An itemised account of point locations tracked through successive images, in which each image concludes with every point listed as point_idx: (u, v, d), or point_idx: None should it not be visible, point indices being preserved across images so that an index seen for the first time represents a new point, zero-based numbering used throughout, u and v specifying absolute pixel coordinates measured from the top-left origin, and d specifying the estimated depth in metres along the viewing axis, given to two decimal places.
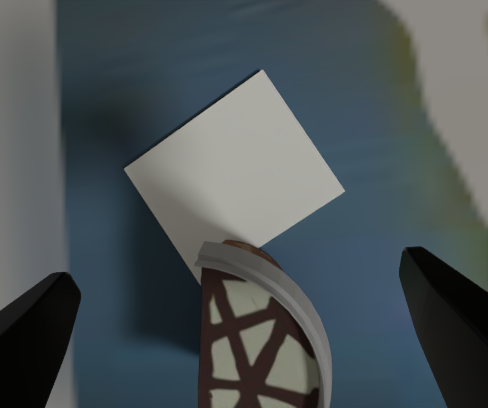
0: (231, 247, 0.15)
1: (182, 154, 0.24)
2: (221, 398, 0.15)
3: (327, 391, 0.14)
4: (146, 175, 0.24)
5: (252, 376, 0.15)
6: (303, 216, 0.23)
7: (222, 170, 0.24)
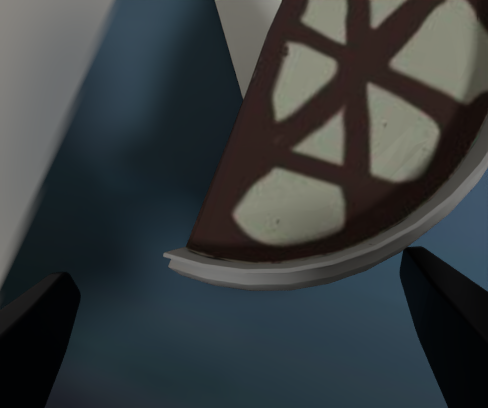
0: None
1: None
2: (302, 64, 0.08)
3: None
4: None
5: (368, 46, 0.08)
6: None
7: None
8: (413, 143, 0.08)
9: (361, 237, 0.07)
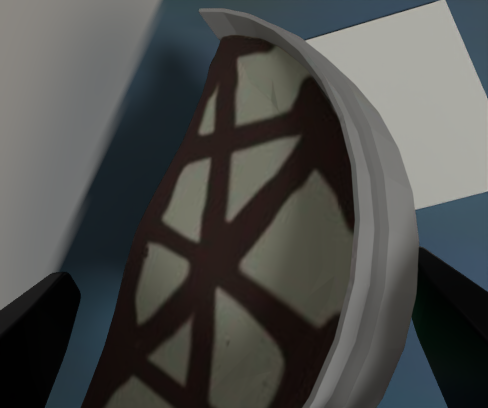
0: None
1: None
2: (158, 265, 0.08)
3: (365, 327, 0.05)
4: None
5: (221, 243, 0.07)
6: (450, 197, 0.16)
7: None
8: (255, 372, 0.06)
9: None
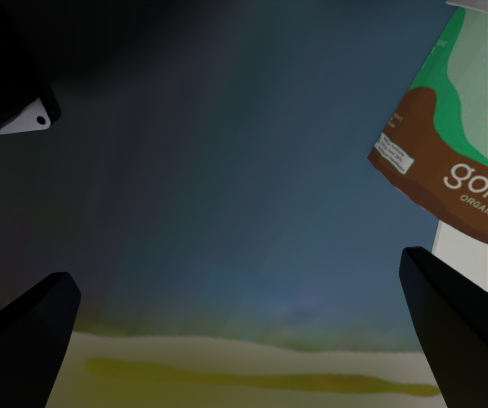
0: None
1: None
2: None
3: None
4: None
5: None
6: None
7: None
8: None
9: None
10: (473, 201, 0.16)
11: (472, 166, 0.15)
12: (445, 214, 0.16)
